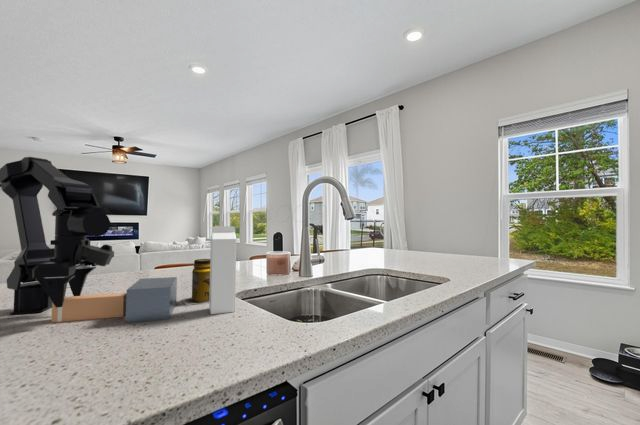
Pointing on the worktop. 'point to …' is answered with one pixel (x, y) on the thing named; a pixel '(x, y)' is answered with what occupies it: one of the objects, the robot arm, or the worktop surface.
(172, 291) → the gray block
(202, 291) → the condiment
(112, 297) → the tan banded carton
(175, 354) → the worktop surface
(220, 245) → the milk
